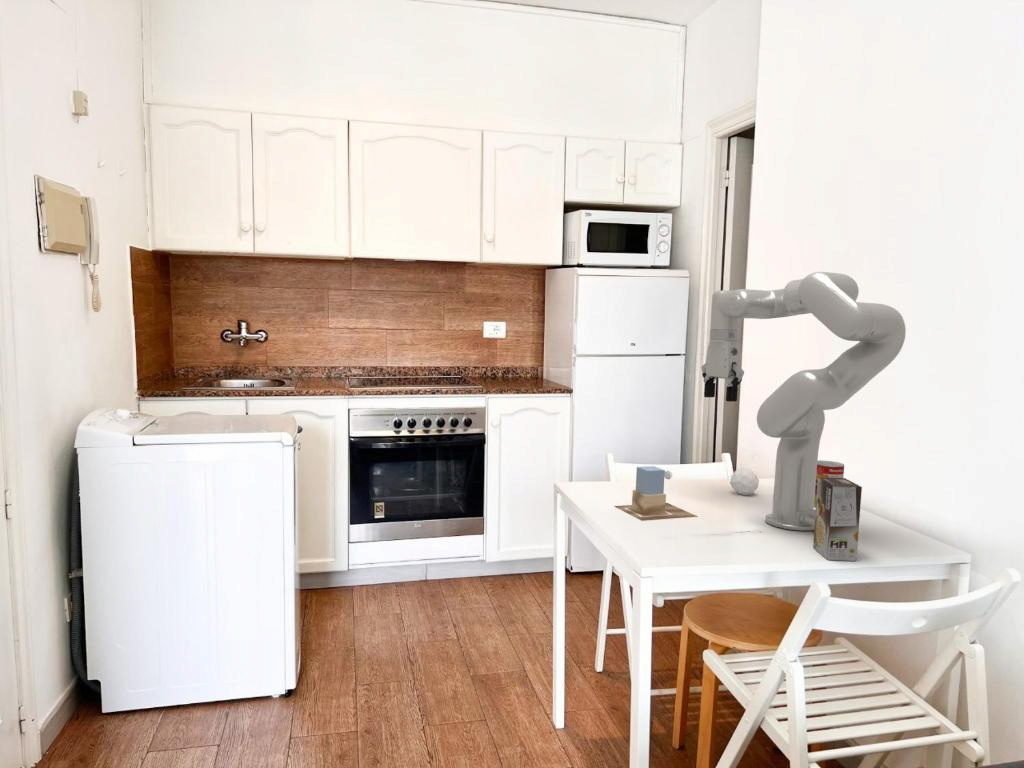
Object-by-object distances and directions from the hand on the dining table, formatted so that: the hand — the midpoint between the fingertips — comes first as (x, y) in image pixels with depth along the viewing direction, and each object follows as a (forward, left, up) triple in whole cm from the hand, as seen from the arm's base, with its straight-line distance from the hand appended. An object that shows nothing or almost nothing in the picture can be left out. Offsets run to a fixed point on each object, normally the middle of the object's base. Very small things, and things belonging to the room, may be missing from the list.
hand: (720, 399), depth 205 cm
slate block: (-10, +27, -22) cm, 36 cm away
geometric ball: (+5, -14, -28) cm, 32 cm away
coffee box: (-47, +3, -28) cm, 55 cm away
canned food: (-12, -28, -28) cm, 42 cm away
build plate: (-10, +25, -28) cm, 39 cm away
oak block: (-10, +27, -27) cm, 40 cm away
